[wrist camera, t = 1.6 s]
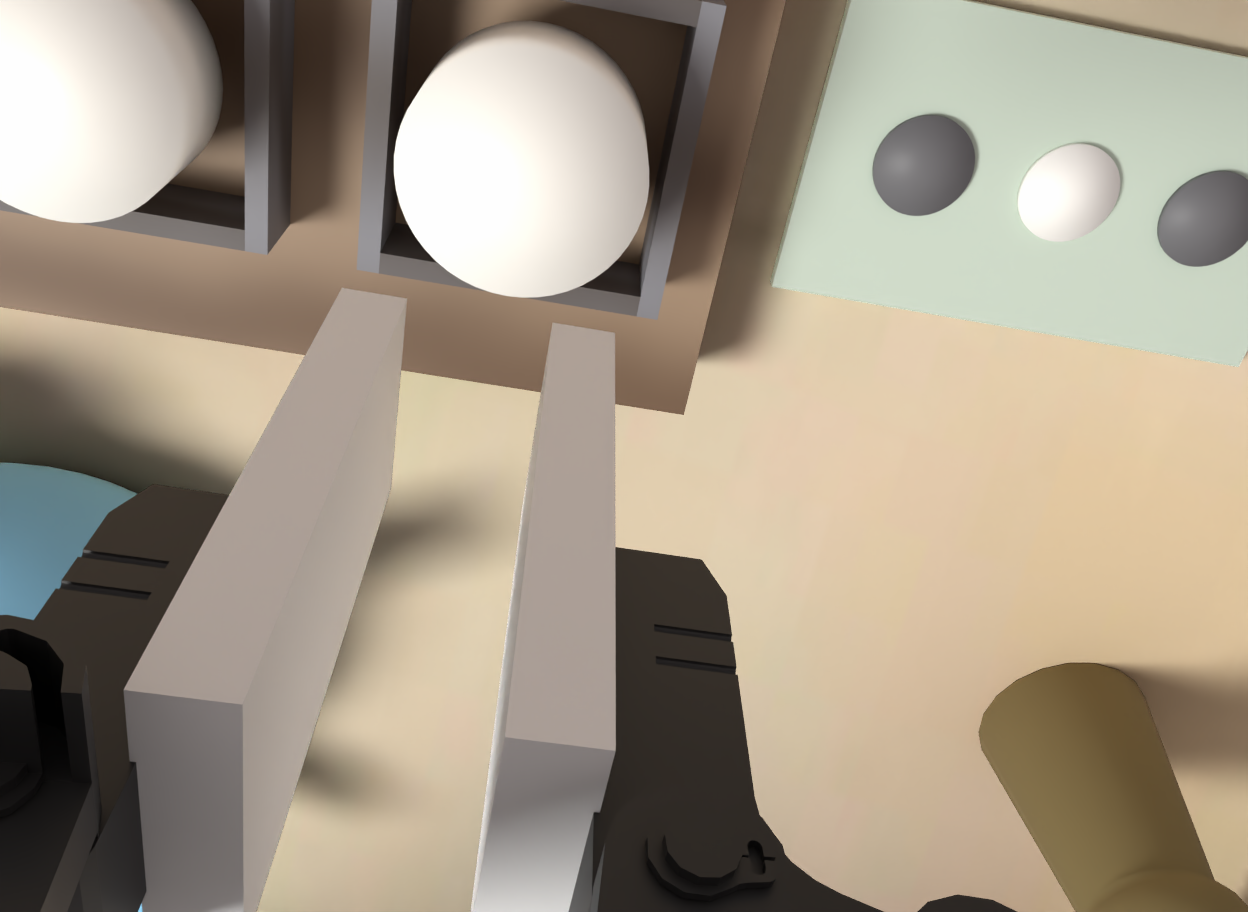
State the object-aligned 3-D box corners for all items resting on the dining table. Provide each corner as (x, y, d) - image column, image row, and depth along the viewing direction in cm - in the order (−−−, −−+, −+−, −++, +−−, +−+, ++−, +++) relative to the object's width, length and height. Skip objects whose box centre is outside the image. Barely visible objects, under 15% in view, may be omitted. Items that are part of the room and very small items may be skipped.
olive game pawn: (1161, 749, 40) (1327, 1040, 31) (1003, 798, 41) (1116, 1091, 32) (1126, 640, 37) (1298, 926, 28) (958, 697, 39) (1069, 987, 29)
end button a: (623, 270, 25) (624, 316, 23) (405, 232, 24) (385, 275, 22) (667, 45, 22) (673, 73, 20) (424, -2, 22) (403, 21, 19)
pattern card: (1231, 360, 31) (1241, 370, 31) (769, 280, 30) (772, 289, 29) (1381, 84, 27) (1396, 89, 27) (853, -24, 26) (859, -20, 25)
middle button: (224, 201, 24) (186, 242, 22) (-11, 161, 23) (-74, 199, 21) (221, -41, 21) (177, -22, 19) (-44, -92, 21) (-120, -78, 18)
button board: (677, 363, 31) (687, 454, 27) (-352, 196, 28) (-521, 267, 24) (807, -184, 24) (849, -177, 20) (-560, -484, 21) (-854, -553, 17)
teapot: (372, 525, 34) (284, 791, 25) (244, 809, 42) (140, 1097, 32) (-133, 338, 31) (-449, 568, 22) (-179, 684, 38) (-431, 968, 29)
